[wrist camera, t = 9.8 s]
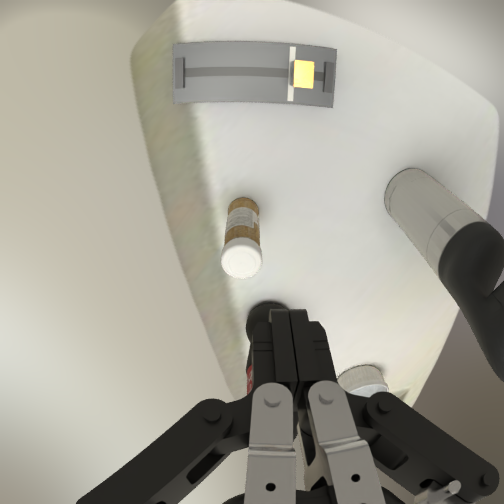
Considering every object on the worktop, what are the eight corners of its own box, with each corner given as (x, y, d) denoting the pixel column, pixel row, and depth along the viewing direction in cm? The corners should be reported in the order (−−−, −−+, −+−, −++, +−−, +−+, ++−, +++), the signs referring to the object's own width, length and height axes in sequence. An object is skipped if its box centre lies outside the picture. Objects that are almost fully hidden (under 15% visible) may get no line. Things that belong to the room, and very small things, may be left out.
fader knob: (307, 63, 32) (314, 61, 28) (305, 86, 33) (312, 88, 30) (289, 61, 32) (295, 60, 28) (288, 85, 33) (293, 86, 30)
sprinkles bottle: (256, 226, 47) (258, 282, 35) (225, 222, 46) (218, 278, 35) (261, 198, 44) (265, 248, 33) (229, 194, 44) (222, 243, 32)
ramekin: (352, 357, 65) (359, 382, 59) (392, 365, 68) (399, 387, 62) (322, 387, 72) (326, 410, 66) (361, 392, 75) (366, 413, 69)
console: (332, 50, 32) (339, 48, 30) (328, 106, 37) (334, 108, 34) (176, 45, 32) (171, 43, 29) (176, 102, 36) (171, 104, 34)
